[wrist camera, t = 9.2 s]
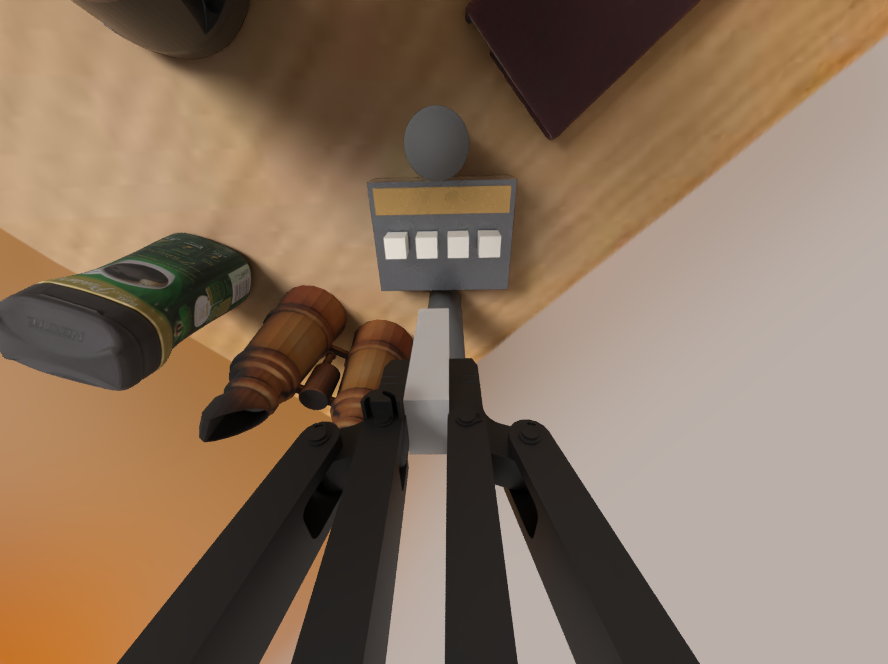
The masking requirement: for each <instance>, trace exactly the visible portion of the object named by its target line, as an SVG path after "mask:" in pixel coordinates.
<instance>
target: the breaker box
mask: <svg viewBox="0 0 888 664" xmlns="http://www.w3.org/2000/svg"><path fill="white" fill-rule="evenodd" d="M516 185H517V179H516V178H514V177H512V176H510V175H498V176H456V177H451V178H449V179H446V180H442V181H432V180H428V179H425V178H423V177H414V178H375V179H373V180H371V181H369V182H367V187H368V195H369V202H370V210H371V217H372V224H373V232H374V239H375V246H376V254H377V261H378V269H379V276H380V283H381V291H416V290H483V289H507V288H508V277H509V265H510V254H511V242H512V231H513V219H514V208H515V196H516ZM478 230H498V231H499V233H500V235H501V248H500V257H489V258H479V256H478V252H477V240H478ZM421 231H438V258H431V259H417V254H416V239H415V238H416V235H417V232H421ZM448 231H468V234H469V258H448V238H447V237H448ZM388 232H408V242H409V254H408V256H407V259H386V255H385V247H384V239H383V238H384V237H385V235H386V234H387V233H388Z"/></svg>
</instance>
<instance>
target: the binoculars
mask: <svg viewBox="0 0 888 664" xmlns="http://www.w3.org/2000/svg"><path fill="white" fill-rule="evenodd" d="M345 324H346V315H345V311H344V309H343V307H342V305H341V303H340V302H339V301H338V300H337V299H336V298H335V297H334V296H333V295H332V294H330V293H329V292H327V291H326V290H324V289H321V288H318V287H315V286H304V285H303V286H299V287H295V288H293V289H291V290H290V291H289V292H287V293H286V294H285V296H284V297H283V299H282V300H281V302H280V303H279V305H278V306H277V307H276V308H275V309H274V310H272V311H271V312H270V313H269V314H268V315H267V316H266V318H265V320H264V322H263V325H262V327H261V328H260V329H259V331H258V332H257V333H256V335H255V336H254V337H253V339H252V340H251V341H250V343H249V344H248V345H247V347H246V348H245V349H244V351H242V352H241V353H239V354H238V355H237V356H236V357H235V358H234V359H233V361H232V363H231V365H230V373H229V381H230V382H229V383H228V384H227V386H226V387H225V389H224V394H222V395H219V396H217V397H215V398H214V399H213V401H212V402H211V403H210V404H209V405H208V406H207V407H206V408H205V410H204V411H203V412H202V416H201V422H200V427H199V438H201V440H202V441H203V442H211V441H217V440H221V439H225V438H229V437H232V436H235V435H238V434H240V433H243V432H245V431H247V430H250V429H252V428H254V427H256V426H257V425H259V424H260V423H262V422H263V421H265V420H266V419H267V418H268V416H270V415H271V414H273V413H274V411H275V410H276V409H277V407H278V406H279V404H280V403H282V402H284V401H287V400H288V399H290V398H292V397H293V396H294V394H295V393H298V394H299V400H300V402H301V403H302V404H303V405H304V406H305V407H307V408H309V409H313V410H321V409H323V408H325V407H326V406H327V405H329V406H331V409H330V413H331V418H332V422H333V423H334V424H336V425H337V426H338V428H339V429H341V428H345V427H349V426H352V425H355V424H358V423H360V422H361V421H363V420H364V418H363V413H362V409H361V404H360V401H361V399H362V398H363V396H365V395H366V394H367V393H368V392H370V391H373V390H375V389H378V388H379V385H380V381H381V378H382V374H383V370H384V367H385V366H386V365H387V364H388V363H389V362H390V361H391V360H410V359H411V353H412V347H413V341H412V339H411V337H410V335H409V334H408V333H407V331H406V330H405V329H404V328H402V327H401V326H399V325H398V324H396V323H393V322H390V321H387V320H374V321H369V322H367V323H365V324H363V325H362V326H360V327H359V329H358V330H357V331H356V332H355V335H354V339H353V343H352V347H351V350H350V351H349V352H348V351H345V350H343V349H341V348H338V347H336V346H334V345H332V343H333V342H334V341H335V340H336V338H337V337H338V336H339V335H340V334H341V332H342V331H343V330H344V328H345ZM325 355H326V358H325V359H324V361H323V363H321V364H318V365H317V366H316V367H315V368H314V370H313V371H312V373H311V375H310V376H309V378H308V380H307V381H306V383H305V385H301V384H300V383H301V382H302V381H303V380H304V378H305V377H306V376H307V375H308V373H309V372H310V371H311V370H312V368H313V367H314V366H315V365H316V363H317V362H318V361H319V360H320V359H321V358H323V357H325ZM336 355H338V356H340V357H342V358H345V363H344V366H345V370H344V373H343V377H342V380H341V383H340V387H339V390H338V393H337V396H336V398H334V397H332V394H333V392H334V390H335V388H336V386H337V383H338V381H339V379H340V372H339V370H338V369H337V368H336V367H335V366H333V365H332V364H331V362H332V360H334V359H335V358H336Z"/></svg>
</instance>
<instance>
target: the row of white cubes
mask: <svg viewBox="0 0 888 664" xmlns="http://www.w3.org/2000/svg"><path fill="white" fill-rule="evenodd" d="M447 238H448V258H469V234H468V231H448V237H447ZM383 239H384V247H385V255H386V259H407V256H408V254H409V242H408V232H388V233H387V234H386V235H385V237H384V238H383ZM415 239H416V254H417V259H431V258H438V231H421V232H417V235H416V238H415ZM500 248H501V235H500V233H499V231H498V230H478V240H477V252H478V256H479V258H489V257H500Z"/></svg>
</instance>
